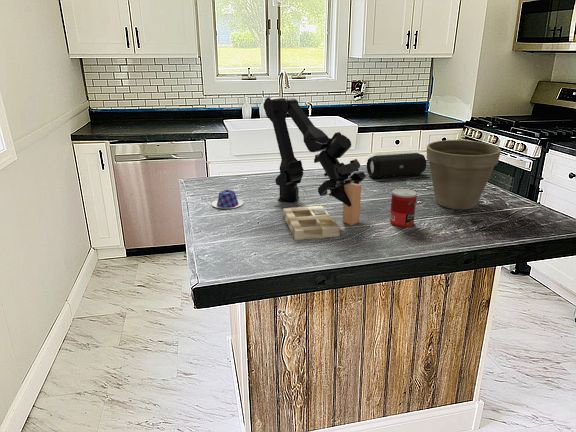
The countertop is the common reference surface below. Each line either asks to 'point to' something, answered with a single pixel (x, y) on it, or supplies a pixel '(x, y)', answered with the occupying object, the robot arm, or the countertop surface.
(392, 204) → the canned food
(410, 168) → the portable speaker
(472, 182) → the plant pot
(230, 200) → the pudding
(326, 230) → the socket plate
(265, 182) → the countertop surface
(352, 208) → the plug
